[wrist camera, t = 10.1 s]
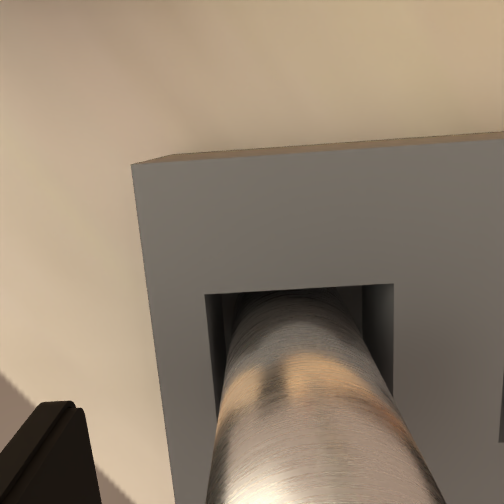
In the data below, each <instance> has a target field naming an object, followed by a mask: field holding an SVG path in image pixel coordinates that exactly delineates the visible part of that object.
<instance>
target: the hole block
mask: <svg viewBox="0 0 504 504" xmlns="http://www.w3.org/2000/svg"><path fill="white" fill-rule="evenodd" d="M131 170H132V178H133V185H134V193H135V201H136V208H137V216H138V224H139V231H140V239H141V246H142V254H143V262H144V269H145V277H146V284H147V292H148V300H149V307H150V315H151V322H152V330H153V338H154V345H155V353H156V360H157V368H158V376H159V383H160V391H161V399H162V406H163V414H164V421H165V429H166V437H167V444H168V452H169V459H170V467H171V475H172V482H173V490H174V497H175V504H205V502H206V496H207V489H208V482H209V476H210V469H211V462H212V456H213V449H214V442H215V436H216V429H217V422H218V416H219V409H220V403H221V396H222V389H223V383H224V376H225V369H226V363H227V356H228V349H229V343H230V336H231V329H232V323H233V316H234V310H235V305H236V301H237V299H238V296H239V294H240V293H241V292H254V291H271V290H288V289H304V288H321V287H336V288H337V290H338V291H339V293H340V295H341V297H342V299H343V301H344V303H345V305H346V307H347V309H348V311H349V313H350V315H351V317H352V318H353V320H354V322H355V324H356V326H357V328H358V330H359V332H360V334H361V336H362V338H363V340H364V342H365V344H366V346H367V348H368V350H369V352H370V354H371V356H372V358H373V360H374V362H375V364H376V366H377V368H378V370H379V372H380V374H381V376H382V378H383V380H384V382H385V383H386V385H387V387H388V389H389V391H390V393H391V395H392V397H393V399H394V401H395V403H396V405H397V407H398V409H399V411H400V413H401V415H402V417H403V419H404V421H405V423H406V425H407V427H408V429H409V431H410V433H411V435H412V437H413V439H414V441H415V443H416V445H417V446H418V448H419V450H420V452H421V454H422V456H423V458H424V460H425V462H426V464H427V466H428V468H429V470H430V472H431V474H432V476H433V478H434V480H435V482H436V484H437V486H438V488H439V490H440V492H441V494H442V496H443V498H444V500H445V502H446V504H504V132H490V133H475V134H461V135H446V136H432V137H418V138H403V139H389V140H374V141H360V142H345V143H331V144H317V145H302V146H288V147H273V148H259V149H245V150H230V151H216V152H201V153H187V154H173V155H168V156H164V157H160V158H156V159H152V160H147V161H143V162H139V163H135V164H131Z"/></svg>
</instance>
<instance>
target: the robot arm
mask: <svg viewBox="0 0 504 504" xmlns="http://www.w3.org/2000/svg"><path fill="white" fill-rule="evenodd" d="M0 504H102V503H101V497H100V492H99V486H98V481H97V476H96V470H95V465H94V460H93V455H92V449H91V444H90V439H89V434H88V428H87V423H86V418H85V413H84V411H83V409H82V408H76V406H75V404H74V402H72V401H55V402H42V403H40V404H39V405H38V406H37V407H36V409H35V410H34V411H33V413H32V414H31V415H30V416H29V417H28V419H27V420H26V421H25V423H24V424H23V425H22V426H21V428H20V429H19V430H18V431H17V433H16V434H15V435H14V437H13V438H12V439H11V440H10V442H9V443H8V444H7V445H6V447H5V448H4V449H3V450H2V452H1V453H0Z"/></svg>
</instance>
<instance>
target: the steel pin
mask: <svg viewBox="0 0 504 504" xmlns="http://www.w3.org/2000/svg"><path fill="white" fill-rule="evenodd" d="M205 504H446V502H445V500H444V498H443V496H442V494H441V492H440V490H439V488H438V486H437V484H436V482H435V480H434V478H433V476H432V474H431V472H430V470H429V468H428V466H427V464H426V462H425V460H424V458H423V456H422V454H421V452H420V450H419V448H418V446H417V445H416V443H415V441H414V439H413V437H412V435H411V433H410V431H409V429H408V427H407V425H406V423H405V421H404V419H403V417H402V415H401V413H400V411H399V409H398V407H397V405H396V403H395V401H394V399H393V397H392V395H391V393H390V391H389V389H388V387H387V385H386V383H385V382H384V380H383V378H382V376H381V374H380V372H379V370H378V368H377V366H376V364H375V362H374V360H373V358H372V356H371V354H370V352H369V350H368V348H367V346H366V344H365V342H364V340H363V338H362V336H361V334H360V332H359V330H358V328H357V326H356V324H355V322H354V320H353V318H352V317H351V315H350V313H349V311H348V309H347V307H346V305H345V303H344V301H343V299H342V297H341V295H340V293H339V291H338V290H337V288H336V287H321V288H304V289H288V290H271V291H254V292H241V293H240V294H239V296H238V299H237V301H236V305H235V310H234V316H233V323H232V329H231V336H230V343H229V349H228V356H227V363H226V369H225V376H224V383H223V389H222V396H221V403H220V409H219V416H218V422H217V429H216V436H215V442H214V449H213V456H212V462H211V469H210V476H209V482H208V489H207V496H206V502H205Z"/></svg>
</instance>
